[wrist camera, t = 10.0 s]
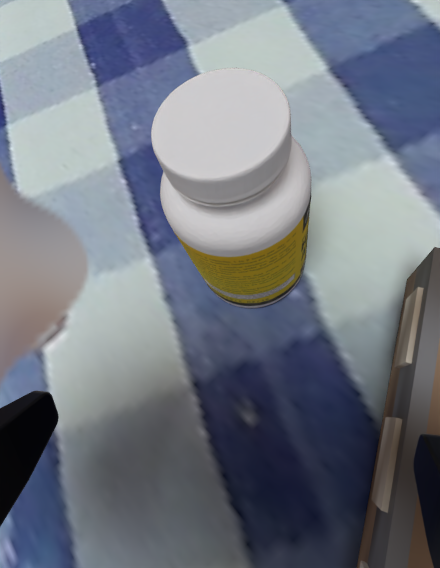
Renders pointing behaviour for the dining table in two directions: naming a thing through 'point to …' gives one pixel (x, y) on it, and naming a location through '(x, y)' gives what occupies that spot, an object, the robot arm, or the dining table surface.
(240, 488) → the dining table surface
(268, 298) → the supplement bottle
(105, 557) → the dining table surface
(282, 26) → the dining table surface
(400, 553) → the rail
